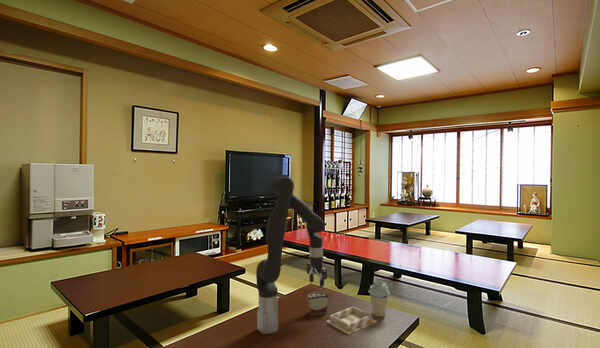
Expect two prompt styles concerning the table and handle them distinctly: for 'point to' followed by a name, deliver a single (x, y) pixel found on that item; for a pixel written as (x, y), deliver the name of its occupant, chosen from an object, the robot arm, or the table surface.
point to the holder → (351, 320)
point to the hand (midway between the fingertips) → (316, 284)
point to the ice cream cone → (379, 297)
